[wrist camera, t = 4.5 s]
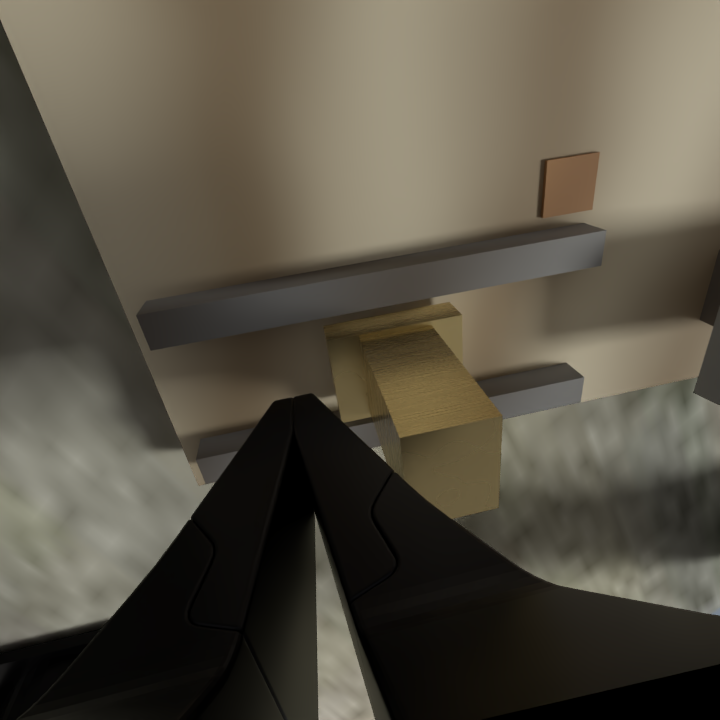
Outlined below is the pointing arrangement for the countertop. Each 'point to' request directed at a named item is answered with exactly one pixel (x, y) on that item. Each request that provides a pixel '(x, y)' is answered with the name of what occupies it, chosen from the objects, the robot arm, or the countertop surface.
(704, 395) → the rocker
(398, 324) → the slider
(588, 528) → the countertop surface
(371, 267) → the panel
